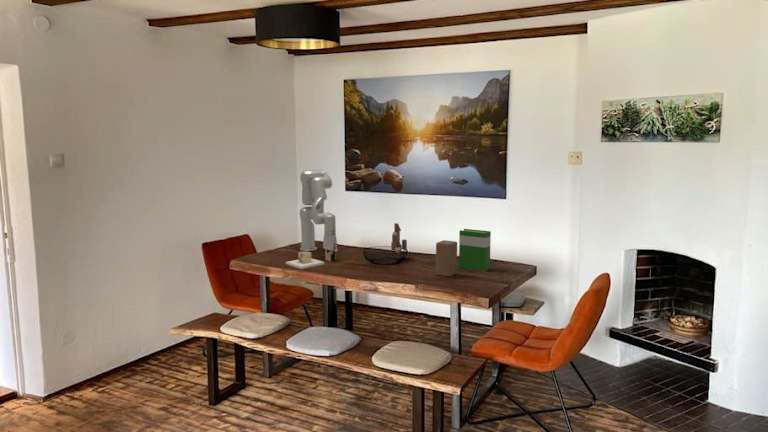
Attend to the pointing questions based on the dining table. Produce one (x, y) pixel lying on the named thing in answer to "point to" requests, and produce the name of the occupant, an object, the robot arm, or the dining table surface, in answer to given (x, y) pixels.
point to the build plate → (304, 265)
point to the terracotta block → (329, 256)
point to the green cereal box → (474, 249)
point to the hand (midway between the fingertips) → (330, 259)
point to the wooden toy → (397, 240)
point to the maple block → (304, 257)
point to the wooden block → (446, 258)
